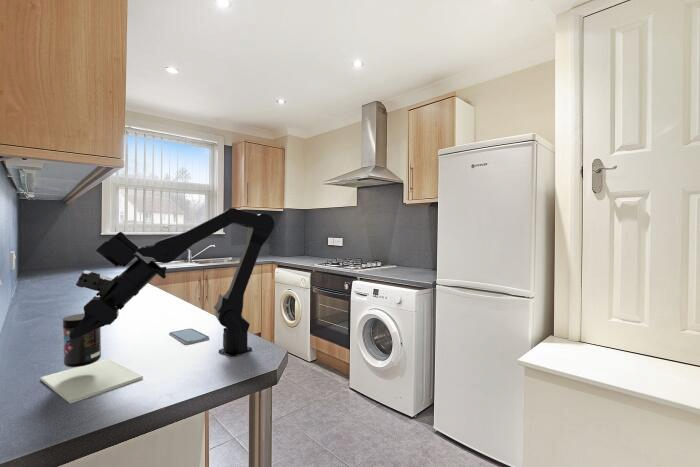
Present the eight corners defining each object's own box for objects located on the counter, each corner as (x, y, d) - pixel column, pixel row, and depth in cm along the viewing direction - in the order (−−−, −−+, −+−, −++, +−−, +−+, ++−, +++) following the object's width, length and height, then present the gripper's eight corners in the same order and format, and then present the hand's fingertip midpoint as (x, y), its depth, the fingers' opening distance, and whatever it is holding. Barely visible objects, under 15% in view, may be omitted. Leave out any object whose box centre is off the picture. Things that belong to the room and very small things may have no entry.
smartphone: (191, 328, 112) (210, 337, 102) (191, 330, 112) (210, 340, 102) (167, 332, 107) (185, 342, 96) (167, 335, 107) (185, 346, 96)
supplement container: (78, 356, 78) (78, 312, 78) (108, 356, 79) (107, 312, 78) (54, 368, 72) (53, 320, 71) (86, 368, 72) (86, 320, 72)
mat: (142, 378, 75) (142, 376, 75) (70, 403, 64) (70, 400, 64) (108, 360, 84) (108, 358, 84) (40, 379, 74) (40, 377, 74)
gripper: (108, 255, 85) (52, 303, 79) (96, 261, 69) (24, 322, 63) (144, 283, 89) (94, 330, 83) (141, 295, 73) (78, 355, 67)
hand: (74, 333), depth 74 cm, fingers closed on supplement container, 7 cm apart
